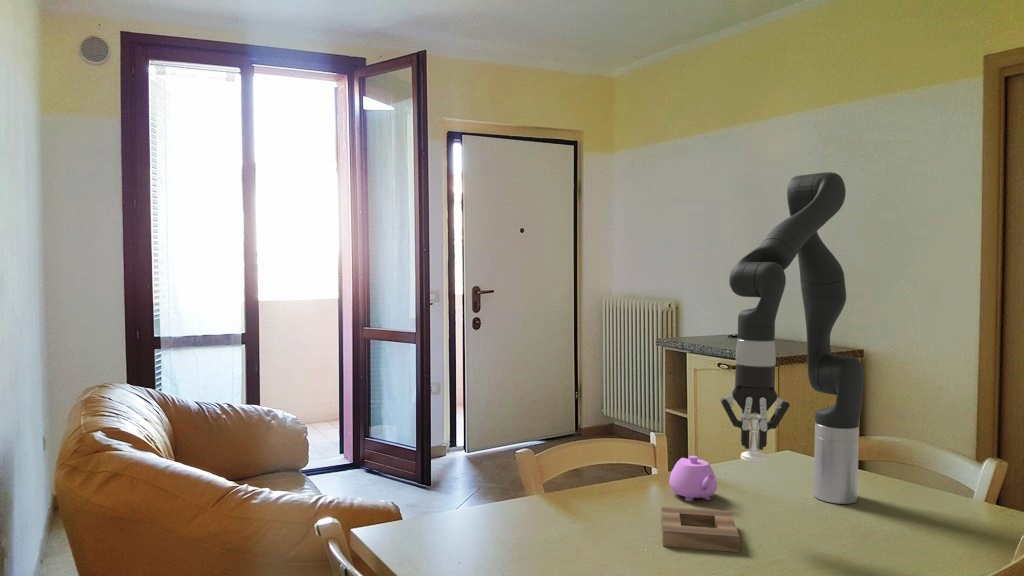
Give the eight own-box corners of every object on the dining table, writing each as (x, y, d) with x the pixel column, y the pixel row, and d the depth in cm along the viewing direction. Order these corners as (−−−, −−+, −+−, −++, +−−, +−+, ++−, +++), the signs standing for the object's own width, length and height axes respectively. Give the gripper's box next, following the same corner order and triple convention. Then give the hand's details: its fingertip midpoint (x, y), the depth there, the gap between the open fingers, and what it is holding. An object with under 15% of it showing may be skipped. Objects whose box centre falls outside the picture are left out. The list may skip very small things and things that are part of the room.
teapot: (698, 486, 175) (699, 448, 175) (732, 506, 161) (733, 464, 161) (659, 489, 173) (660, 450, 172) (690, 510, 158) (691, 468, 158)
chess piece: (768, 462, 141) (769, 412, 141) (742, 461, 142) (743, 410, 142) (764, 456, 146) (765, 407, 145) (739, 454, 147) (740, 405, 146)
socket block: (661, 520, 152) (661, 506, 151) (730, 525, 149) (730, 511, 149) (663, 546, 138) (663, 530, 138) (738, 552, 135) (739, 536, 135)
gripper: (788, 361, 146) (785, 445, 146) (717, 358, 148) (715, 442, 149) (795, 366, 138) (793, 455, 139) (721, 363, 141) (719, 451, 141)
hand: (753, 448), depth 144 cm, fingers closed on chess piece
